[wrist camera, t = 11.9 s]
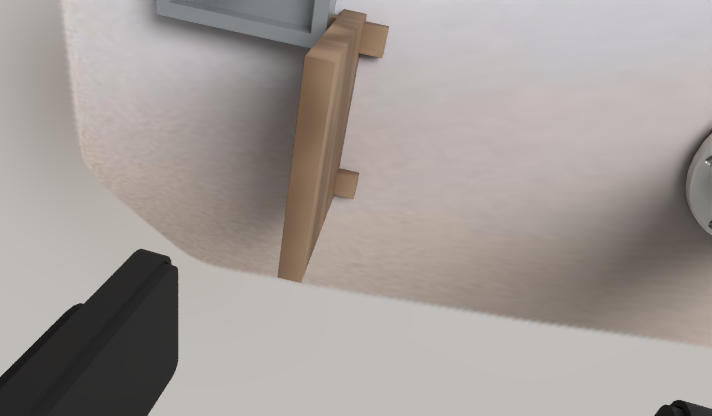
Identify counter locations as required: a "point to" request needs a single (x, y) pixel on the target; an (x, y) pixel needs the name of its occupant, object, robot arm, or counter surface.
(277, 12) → the slate dish
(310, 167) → the walnut board
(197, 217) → the counter surface
